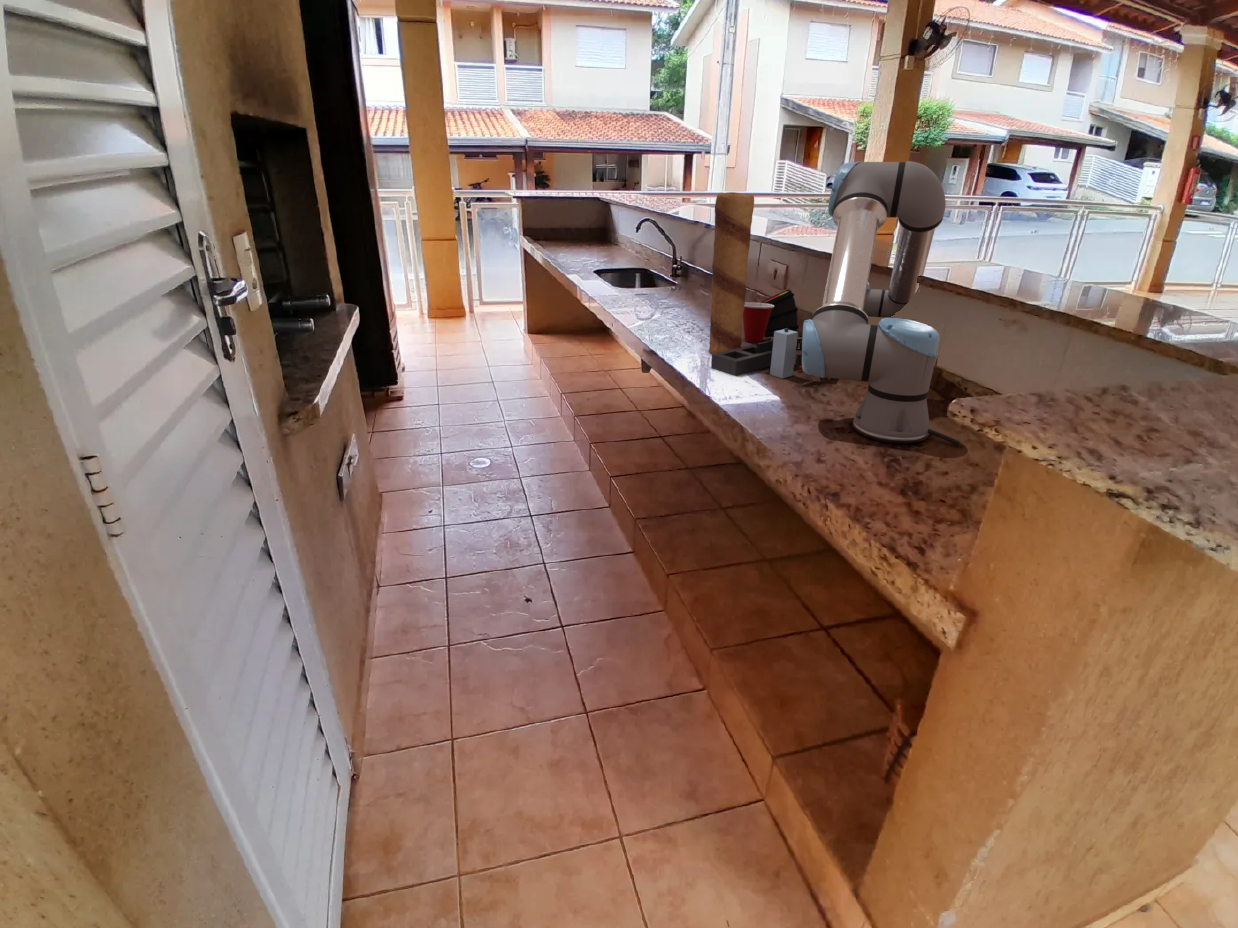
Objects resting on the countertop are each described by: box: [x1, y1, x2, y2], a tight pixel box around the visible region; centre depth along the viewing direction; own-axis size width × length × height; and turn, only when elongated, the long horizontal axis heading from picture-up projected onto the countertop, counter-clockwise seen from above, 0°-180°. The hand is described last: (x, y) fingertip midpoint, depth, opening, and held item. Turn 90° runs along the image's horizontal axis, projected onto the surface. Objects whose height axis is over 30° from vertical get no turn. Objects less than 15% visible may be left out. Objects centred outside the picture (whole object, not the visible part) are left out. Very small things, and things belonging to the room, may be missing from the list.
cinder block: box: [710, 344, 772, 376], centre depth 175 cm, size 9×17×4 cm, turn 126°
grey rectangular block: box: [769, 328, 799, 379], centre depth 166 cm, size 4×4×13 cm
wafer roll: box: [708, 191, 755, 355], centre depth 179 cm, size 10×11×45 cm
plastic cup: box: [742, 301, 774, 343], centre depth 199 cm, size 11×11×12 cm
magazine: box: [758, 288, 800, 337], centre depth 205 cm, size 4×13×15 cm, turn 88°
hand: (776, 354), depth 164 cm, fingers open, 13 cm apart
